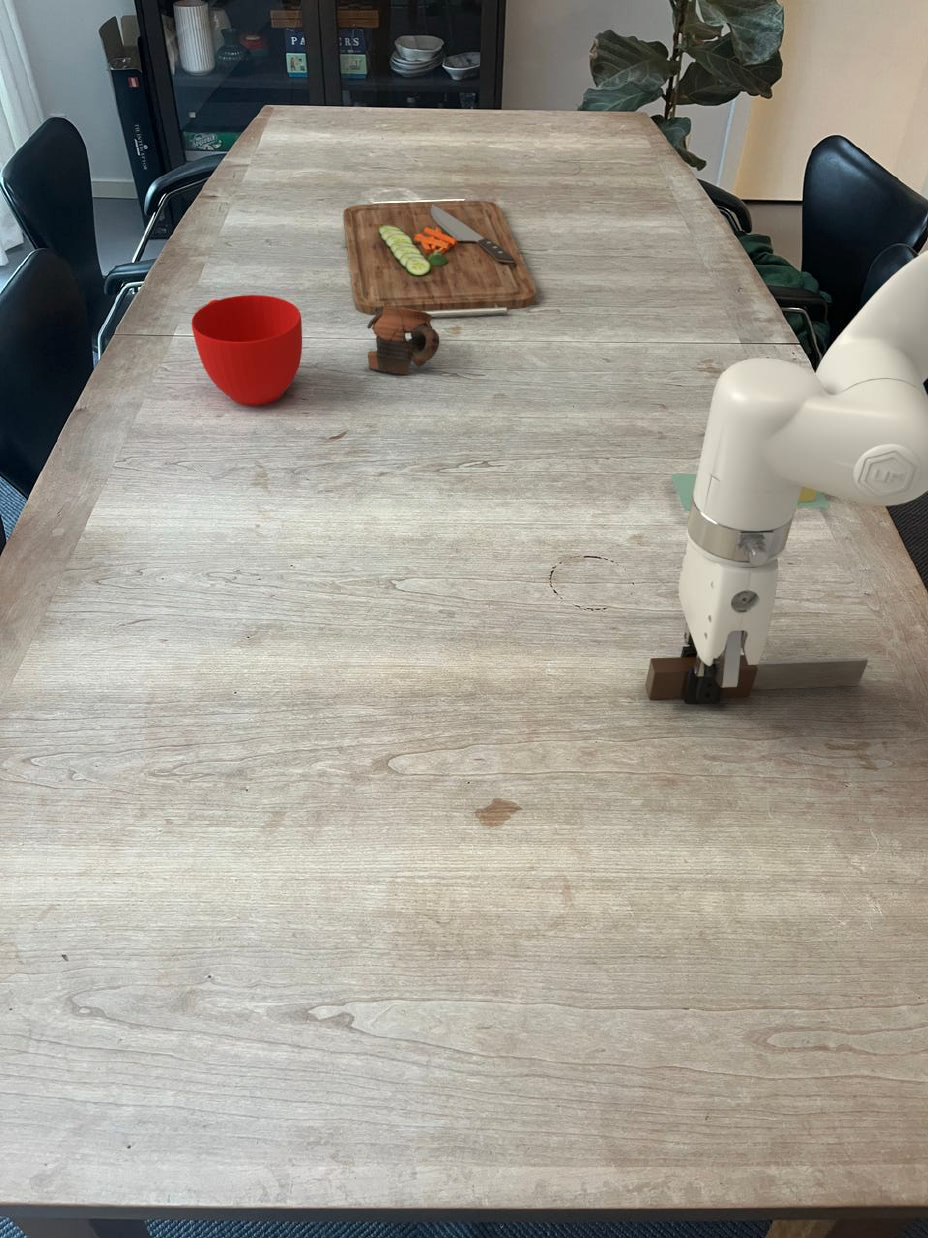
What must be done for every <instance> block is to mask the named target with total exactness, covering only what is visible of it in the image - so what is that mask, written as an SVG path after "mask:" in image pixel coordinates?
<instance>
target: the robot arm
mask: <svg viewBox="0 0 928 1238" xmlns="http://www.w3.org/2000/svg"><path fill="white" fill-rule="evenodd" d="M817 366H818V367H817V369H816V370H815V372H814V373H813V372H812V371H811V370H809V369H808V368H806V367H804V366H803V365H800V364H797V363H794V362H792V361H788V360H784V359H780V358H773V357H755V358H753V357H752V358H748V359H743V360H740V361H738V362H735V363H733V364H731V365H730V366H729V367H728V368H726V369H725V370H724V371H723V372H722V373H721V375H720V376H719V378H718V379H717V382H716V383H715V387H714V390H713V394H712V399H711V403H710V408H709V413H708V418H707V422H706V427H705V433H704V438H703V441H702V442H703V443H702V448H701V453H700V457H699V462H698V468H697V472H696V474H697V477H696V482H695V487H694V492H693V497H692V502H691V507H690V511H688V517H687V521H686V526H685V536H686V539H687V543H686V548H685V552H684V556H683V559H682V562H681V563H682V564H681V569H680V573H679V582H678V597H679V602H680V605H681V609H682V612H683V614H684V618H685V621H686V623H685V628H684V633H683V642H684V644H685V645H684V646H682V649H681V653H680V657H696V661H695V666H694V667H690V669H689V673H688V677H687V682H686V686H685V690H684V695H683V698H682V699H683V702H684V704H686V705H699V704H718V703H719V702H720V701H721V699H722V697H721V696H722V692H723V689H724V687H737V684H738V675H739V664H740V655H741V651H742V652H743V655H745V658H746V660H747V663H748V665H757V664H758V663H759V662H761V660H762V658H763V655H764V651H765V649H766V648H765V647H766V644H767V639H768V634H769V630H770V626H771V621H772V616H773V612H774V607H775V601H776V594H777V587H778V577H779V576H778V575H779V562H778V561H779V560H778V559H779V558H780V557H781V556H782V555H783V553H784V551H785V548H786V545H787V540H788V537H789V534H790V531H791V527H792V524H793V521H794V517H795V513H796V510H797V508H796V507H797V503H798V500H799V496H800V493H801V490H802V487H806V488H809V489H812V490H816V491H819V492H822V493H823V494H826V495H829V496H833V497H834V498H839V499H841V500H845V501H849V502H852V503H857V504H860V505H861V504H862V505H866V506H874V507H875V506H877V507H891V506H898V505H902V504H906V503H909V502H911V501H914V500H916V499H918V498H920V497H921V496H922V495H924V494H925V493H926V492H928V393H927V391H926V388H925V385H924V383H925V381H927V379H928V249H927V250H925V251H924V252H921V253H920V254H919V255H917V256H916V257H915V258H913V259H911V260H910V261H909V262H908V263H906V264H905V265H904V266H902V267H901V268H900V269H899V270H897V271H896V272H895V273H894V274H893V275H892V276H891V277H889V279H888V280H886V281H885V282H884V283H883V284H882V285H881V286H880V288H878V289H877V291H875V293H874V294H873V295H872V296H871V297H870V298H869V300H868V301H867V302H866V303H865V304H864V306H863V307H862V308H861V309H860V310H859V311H858V312H857V314H856V315H855V316H854V317H853V318H852V319H851V321H850V322H849V323H848V324H847V326H846V327H845V328H844V329H843V330H842V332H841V333H840V334H839V335H838V336H837V337H836V339H835V340H834V341H833V343H832V344H831V346H829V348H828V350H827V351H826V353H825V354H824V356H823V357H822V358H821V360H820V363H819V364H818V365H817ZM718 657H720V662H714V660H713V659H714V658H718Z"/></svg>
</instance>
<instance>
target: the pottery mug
mask: <svg viewBox="0 0 928 1238" xmlns="http://www.w3.org/2000/svg"><path fill="white" fill-rule="evenodd" d="M375 311H376V312H377V313H376V315H375V316H374V317H372V318H371V319H370V320H369V322H368V323H367V326H366V327H367V329H368V330H369V329H371V330H372V331H373V334H374V335H375V336H376V337H375V341H376V342H375V343H376V350H370V351H368V352H367V360H368V368H369V369H370V370H374V371H375V370H377V371H384V372H386V373H390V374H399V375H409V372H410V367H411V363H413V364H414V365H415V366H416V367H418V368H420V367H422V366H424V365H426V363H427V362H428V361H430V360H432V359H433V358H434V356H435V355H436V353H437V352H438V349H439V347H440V336H439V334H438V332H437V331H436V329H434V328H433V325H432V324H431V321H432V320H431V319H433V318H432V316H431V315H430V314H428V313H426V312H422V311H418V310H413V309H407V308H396V307H385V306H381V307H376V309H375ZM406 334H410V339H408V340H407V338H406Z"/></svg>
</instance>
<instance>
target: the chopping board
mask: <svg viewBox="0 0 928 1238" xmlns="http://www.w3.org/2000/svg"><path fill="white" fill-rule="evenodd" d="M342 215H343V225H344V235H345V242H346V249H347V257H348V264H349V265H348V266H349V271H350V272H349V273H350V280H351V288H352V290H351V291H352V296H353V297H352V298H353V305H354V307H355V309H356V310H357V311H359V312H360V313H363V314H367V315H375V316H376V313H377V312H376V311H375V309H376V307H381V306H385V307H396V308H407V309H413V310H418V311H422V312H426V313H428V314H430V315H431V316H432V317H433V318H434V317H450V316H471V315H472V316H473V315H492V314H494V315H495V314H508V309H509V310H510V309H522V308H527V307H529V306H532V305H534V304H535V303H536V301H537V287H536V286H535V283H534V281H533V279H532V276H531V274H530V272H529V270H528V267H527V266H526V263H525V261H524V258H523V257H522V255H521V251H520V250H519V248H518V246H517V243H516V241H515V239H514V237H513V233H512V232H511V230H510V228H509V225H508V223H507V221H506V218H505V216H504V214H503V212H502V210H501V208H500V206H499V205H498V204H497V203H494V202H492V201H485V200H466V199H465V198H464V197H461V198H457V197H456V198H431V199H430V198H429V199H428V198H427V199H401V200H400V199H399V200H376V201H375V200H374V201H372V204H358V205H357V204H356V205H352V206H349V207H346V208H345V209H344V210H343V212H342Z"/></svg>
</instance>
